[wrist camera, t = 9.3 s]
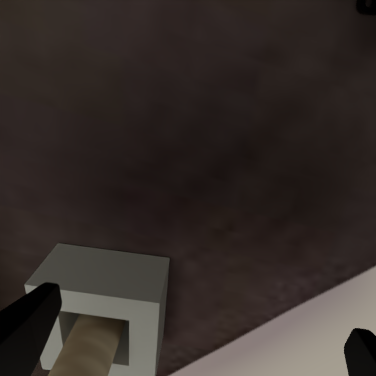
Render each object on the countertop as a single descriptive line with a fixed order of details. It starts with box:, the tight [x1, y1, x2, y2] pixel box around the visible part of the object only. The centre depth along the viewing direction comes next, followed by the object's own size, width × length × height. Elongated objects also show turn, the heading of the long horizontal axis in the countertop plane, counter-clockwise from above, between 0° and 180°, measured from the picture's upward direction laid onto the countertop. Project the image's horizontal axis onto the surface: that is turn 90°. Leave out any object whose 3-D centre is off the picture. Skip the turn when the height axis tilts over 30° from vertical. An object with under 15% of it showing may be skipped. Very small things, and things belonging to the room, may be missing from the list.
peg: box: [48, 314, 126, 376], centre depth 21 cm, size 4×4×9 cm
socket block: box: [25, 243, 170, 376], centre depth 23 cm, size 9×9×4 cm
